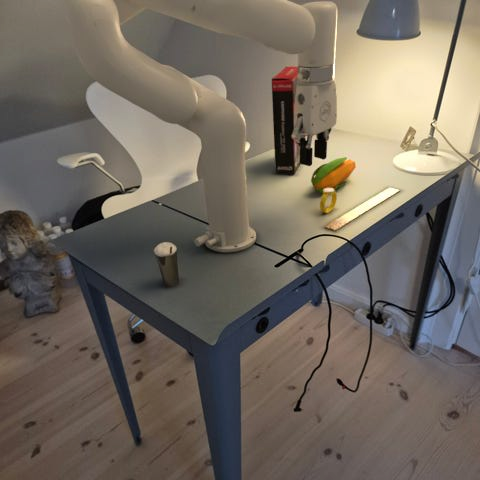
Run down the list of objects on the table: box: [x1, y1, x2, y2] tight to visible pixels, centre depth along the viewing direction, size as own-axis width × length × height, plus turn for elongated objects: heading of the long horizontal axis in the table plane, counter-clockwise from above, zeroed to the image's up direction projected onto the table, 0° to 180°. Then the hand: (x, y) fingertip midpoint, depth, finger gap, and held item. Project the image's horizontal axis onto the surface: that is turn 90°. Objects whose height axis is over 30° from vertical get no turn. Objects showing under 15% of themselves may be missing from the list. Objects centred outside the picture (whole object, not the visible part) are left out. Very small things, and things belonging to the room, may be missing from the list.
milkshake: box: [153, 241, 180, 288], centre depth 93 cm, size 4×5×10 cm
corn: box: [310, 157, 357, 194], centre depth 129 cm, size 7×8×20 cm
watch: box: [319, 188, 338, 214], centre depth 116 cm, size 6×3×6 cm, turn 139°
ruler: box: [324, 187, 401, 232], centre depth 118 cm, size 30×3×1 cm, turn 135°
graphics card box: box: [271, 66, 306, 175], centre depth 138 cm, size 17×7×27 cm, turn 162°
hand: (313, 160), depth 105 cm, fingers open, 4 cm apart
